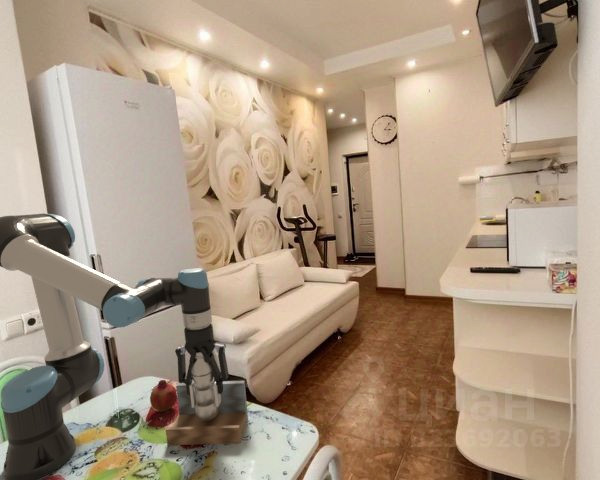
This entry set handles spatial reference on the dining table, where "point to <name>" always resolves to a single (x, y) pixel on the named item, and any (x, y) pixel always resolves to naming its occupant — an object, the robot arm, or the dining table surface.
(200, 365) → the silver metal bottle
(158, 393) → the fruit
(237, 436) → the brown wooden box
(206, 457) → the dining table surface
